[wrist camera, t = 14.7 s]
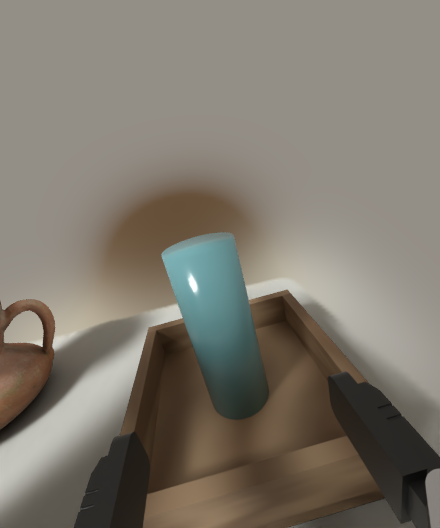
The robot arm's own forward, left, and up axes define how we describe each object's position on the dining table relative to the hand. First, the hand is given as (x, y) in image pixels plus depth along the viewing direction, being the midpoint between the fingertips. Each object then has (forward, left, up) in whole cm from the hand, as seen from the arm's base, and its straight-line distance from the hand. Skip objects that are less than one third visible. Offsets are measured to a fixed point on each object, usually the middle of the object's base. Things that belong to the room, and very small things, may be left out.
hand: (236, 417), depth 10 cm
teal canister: (0, +10, -9) cm, 13 cm away
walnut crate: (0, +10, -10) cm, 14 cm away
